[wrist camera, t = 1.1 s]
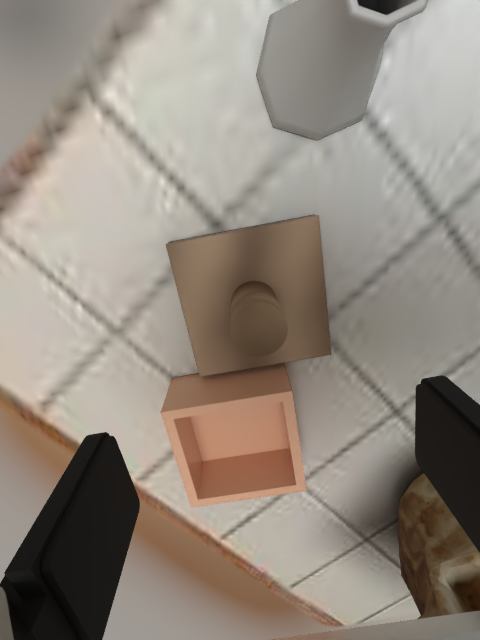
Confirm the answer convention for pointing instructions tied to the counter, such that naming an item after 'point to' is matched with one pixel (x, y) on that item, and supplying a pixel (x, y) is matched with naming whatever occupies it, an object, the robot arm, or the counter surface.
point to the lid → (253, 295)
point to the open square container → (235, 434)
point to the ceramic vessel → (436, 554)
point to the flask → (325, 61)
